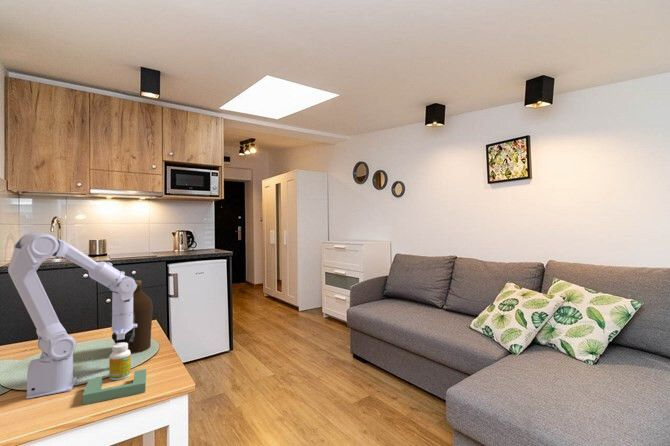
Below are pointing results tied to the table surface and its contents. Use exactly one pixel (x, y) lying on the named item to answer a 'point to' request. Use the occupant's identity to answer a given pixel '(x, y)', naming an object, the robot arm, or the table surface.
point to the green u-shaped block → (113, 389)
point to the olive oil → (141, 320)
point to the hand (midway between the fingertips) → (122, 354)
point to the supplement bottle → (119, 361)
